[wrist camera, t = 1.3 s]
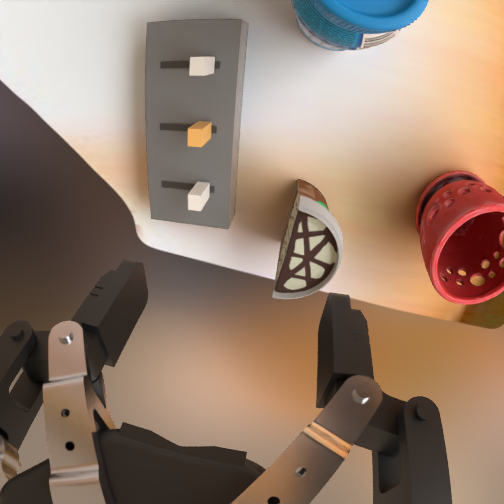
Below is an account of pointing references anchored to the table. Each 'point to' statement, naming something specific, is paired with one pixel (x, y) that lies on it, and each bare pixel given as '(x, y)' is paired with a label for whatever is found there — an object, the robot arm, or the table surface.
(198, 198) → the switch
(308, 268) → the food container
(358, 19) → the beverage bottle
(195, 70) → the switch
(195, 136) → the switch mid
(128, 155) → the table surface
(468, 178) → the plant pot
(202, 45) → the breaker block
